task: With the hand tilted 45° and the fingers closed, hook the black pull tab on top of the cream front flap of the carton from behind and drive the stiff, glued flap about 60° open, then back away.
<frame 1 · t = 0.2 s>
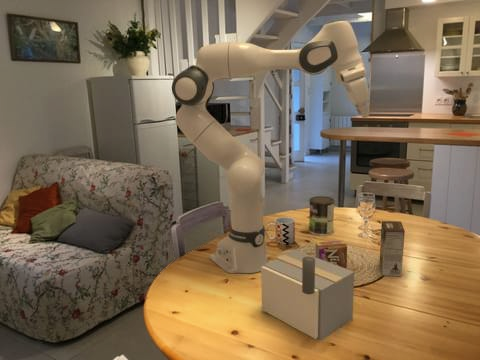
hand: (363, 116, 131), 52 cm above the table, tool tilted 20°, fingers open, 8 cm apart
flap: (285, 287, 109), point 11 cm above the table, hinge at 0.0°
coffee can: (321, 231, 179), on the table
carton: (307, 314, 118), on the table
candy box: (330, 290, 131), on the table
coffee box: (390, 270, 142), on the table
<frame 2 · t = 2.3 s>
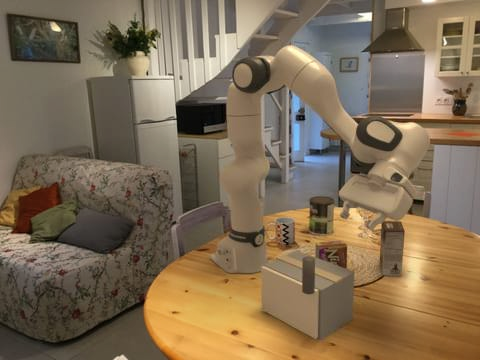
hand: (355, 222, 106), 29 cm above the table, tool tilted 45°, fingers open, 8 cm apart
nothing on the table moved.
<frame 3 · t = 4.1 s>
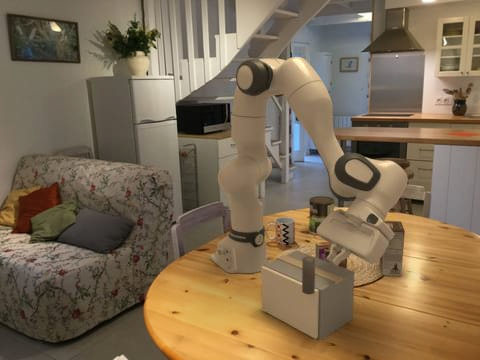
hand: (331, 262, 105), 20 cm above the table, tool tilted 45°, fingers closed
nothing on the table moved.
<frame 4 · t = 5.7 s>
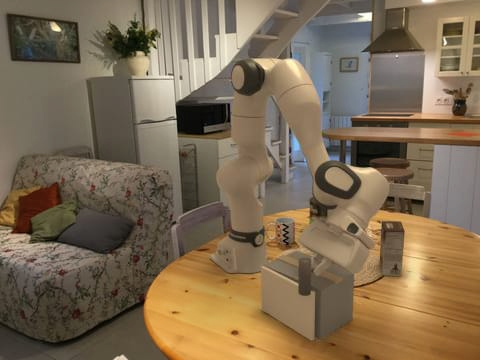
hand: (312, 272, 102), 18 cm above the table, tool tilted 45°, fingers closed, pressing on flap
flap: (283, 288, 109), point 11 cm above the table, hinge at 4.1°, touching gripper
everything else where it was.
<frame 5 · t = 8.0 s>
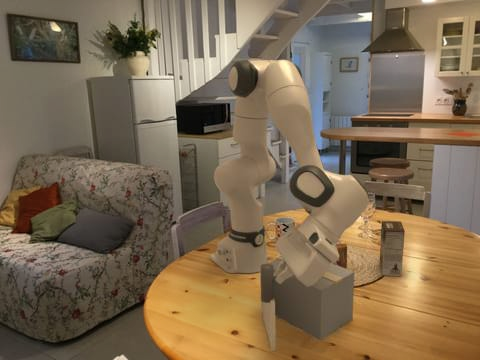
hand: (276, 279, 99), 18 cm above the table, tool tilted 45°, fingers closed, pressing on flap
flap: (263, 291, 108), point 11 cm above the table, hinge at 36.9°, touching gripper
everything else where it was.
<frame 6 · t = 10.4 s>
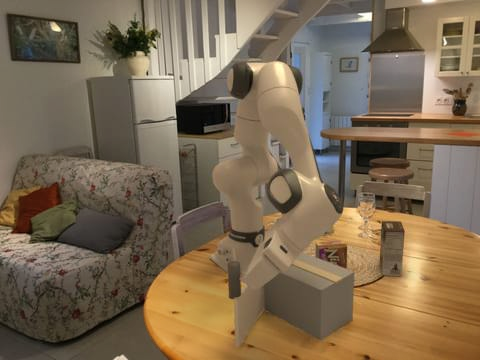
hand: (242, 278, 100), 18 cm above the table, tool tilted 45°, fingers closed, pressing on flap
flap: (246, 289, 109), point 11 cm above the table, hinge at 63.7°, touching gripper
everything else where it was.
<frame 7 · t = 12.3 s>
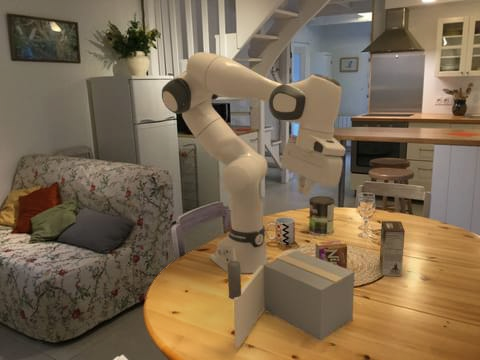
hand: (303, 193, 109), 35 cm above the table, tool pointing down, fingers closed
flap: (246, 289, 109), point 11 cm above the table, hinge at 63.7°
everything else where it was.
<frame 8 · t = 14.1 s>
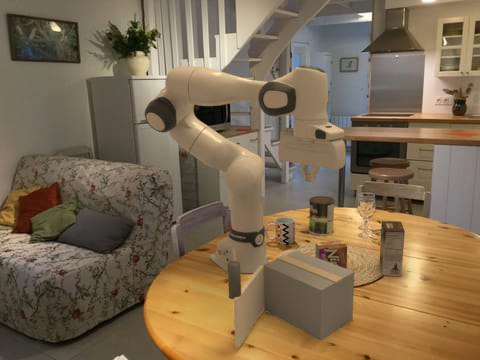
hand: (309, 181, 113), 37 cm above the table, tool pointing down, fingers closed
nothing on the table moved.
at the end: flap at +64° (first picture: +0°); the gripper is holding nothing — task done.
